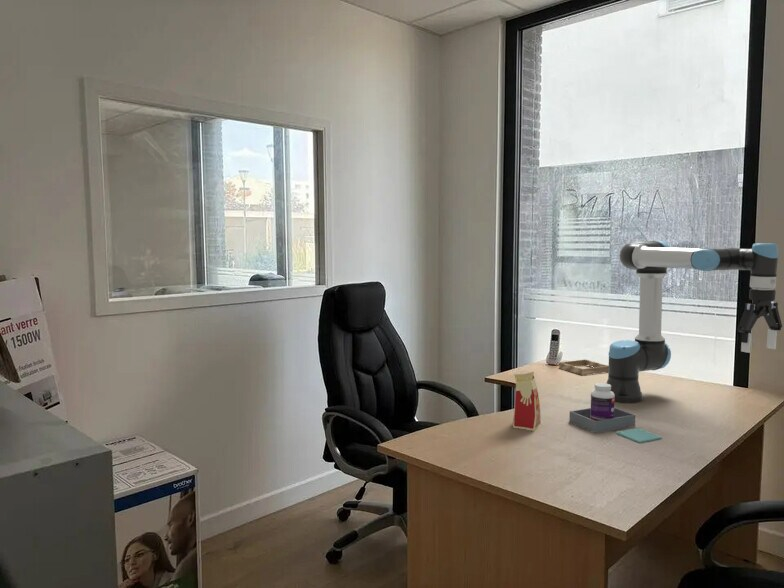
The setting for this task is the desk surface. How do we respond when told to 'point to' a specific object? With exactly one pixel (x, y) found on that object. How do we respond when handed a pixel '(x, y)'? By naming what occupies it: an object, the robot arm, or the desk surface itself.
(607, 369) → the wooden square tray
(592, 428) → the rectangular frame
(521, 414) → the milk carton
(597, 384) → the pill bottle
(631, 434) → the pad
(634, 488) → the desk surface
